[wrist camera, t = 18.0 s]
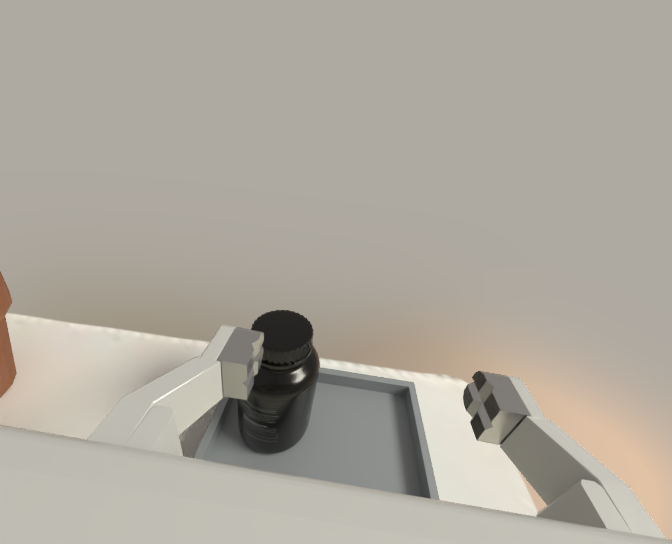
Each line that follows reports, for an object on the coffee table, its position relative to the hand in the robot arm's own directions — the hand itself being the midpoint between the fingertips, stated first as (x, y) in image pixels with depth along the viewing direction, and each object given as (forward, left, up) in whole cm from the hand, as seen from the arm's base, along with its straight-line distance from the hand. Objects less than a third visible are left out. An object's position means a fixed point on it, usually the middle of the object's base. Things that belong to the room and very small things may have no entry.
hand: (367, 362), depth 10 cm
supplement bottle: (-1, +9, -19) cm, 22 cm away
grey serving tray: (+3, +7, -20) cm, 21 cm away
